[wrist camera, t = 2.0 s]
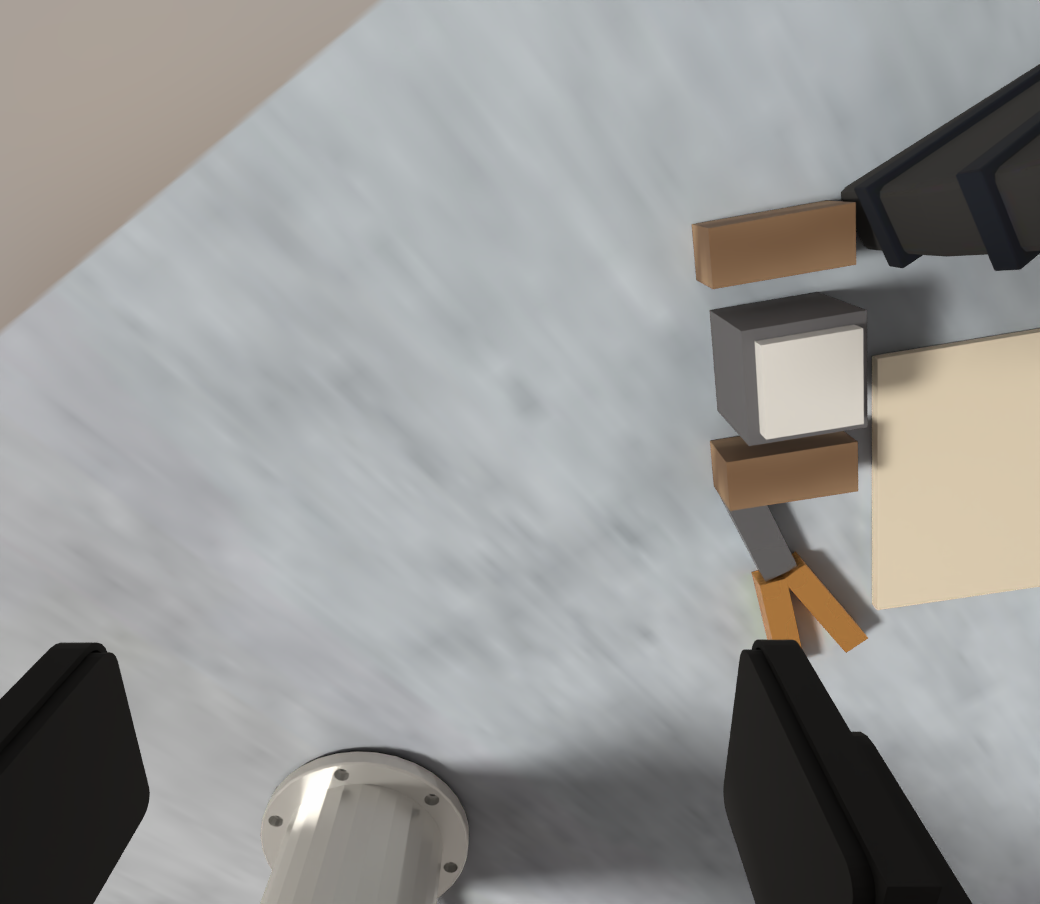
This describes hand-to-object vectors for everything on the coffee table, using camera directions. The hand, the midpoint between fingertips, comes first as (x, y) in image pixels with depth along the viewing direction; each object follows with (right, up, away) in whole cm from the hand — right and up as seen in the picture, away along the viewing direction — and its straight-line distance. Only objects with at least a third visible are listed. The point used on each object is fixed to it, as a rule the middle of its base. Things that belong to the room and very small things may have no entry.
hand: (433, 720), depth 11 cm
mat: (+24, +3, +26) cm, 36 cm away
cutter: (+15, -2, +28) cm, 32 cm away
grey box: (+13, +9, +24) cm, 29 cm away
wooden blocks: (+13, +9, +24) cm, 29 cm away
